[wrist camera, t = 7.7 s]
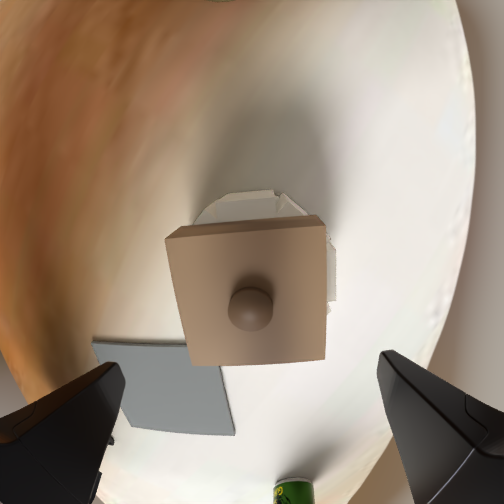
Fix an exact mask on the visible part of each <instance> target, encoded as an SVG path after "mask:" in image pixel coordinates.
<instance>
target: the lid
mask: <svg viewBox="0 0 504 504" xmlns="http://www.w3.org/2000/svg"><path fill="white" fill-rule="evenodd" d="M165 245H166V250H167V256H168V261H169V267H170V272H171V277H172V282H173V287H174V291H175V296H176V301H177V305H178V310H179V314H180V319H181V323H182V327H183V331H184V335H185V339H186V343H187V347H188V351H189V355H190V359H191V363H192V366H241V365H265V364H281V363H294V362H306V361H316V360H325V347H326V316H327V251H326V225H325V224H324V223H323V222H322V221H321V220H320V219H319V218H318V217H317V215H305V216H291V217H278V218H265V219H253V220H242V221H231V222H220V223H209V224H199V225H189V226H181V227H179V228H178V229H177V230H175V231H174V232H173V233H172V234H170V235H169V236H168V237H167V238H165Z"/></svg>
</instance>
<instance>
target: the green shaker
mask: <svg viewBox="0 0 504 504" xmlns="http://www.w3.org/2000/svg"><path fill="white" fill-rule="evenodd" d="M208 1H214V2H229V1H234V0H208Z"/></svg>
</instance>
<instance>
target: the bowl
mask: <svg viewBox="0 0 504 504" xmlns="http://www.w3.org/2000/svg"><path fill="white" fill-rule="evenodd" d="M305 215H309V214H308V213H306V212H305V211H304V210H303V209H302V208H301V207H300V206H298V205H297V204H296V203H295V202H294V201H293V200H291V199H290V198H289V197H288V196H287V195H285V194H284V193H282V194H281V195H280V196H276V195H274V191H273V189H270V190H259V191H248V192H238V193H229V194H226V195H225V196H224V197H222V198H221V199H217V200H216V201H214V202H213V203H212V204H210V205H209V206H208V207H206V208H205V209H204V210H203V211H202V213H201V214H200V215H199V216H198V218H197V219H196V220H195V222H194V223H193V224H192V225H199V224H209V223H220V222H231V221H242V220H253V219H265V218H278V217H291V216H305ZM330 240H331V238H330V237H329V236H328V235H327V233H326V251H327V315H328V314H329V313H330V312H331V309H330V306H329V304H328V302H329V301H336V249H335V248H334V247H333V245H332V244H331V243H330Z"/></svg>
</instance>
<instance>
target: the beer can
mask: <svg viewBox="0 0 504 504" xmlns="http://www.w3.org/2000/svg"><path fill="white" fill-rule="evenodd" d="M273 504H315V500H314V489H313V484H312V483H311V482H310V480H308V479H306V478H299V477H294V478H287V479H283V480H280V481H279V482H277V484H276V485H275V487H274V500H273Z"/></svg>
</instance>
